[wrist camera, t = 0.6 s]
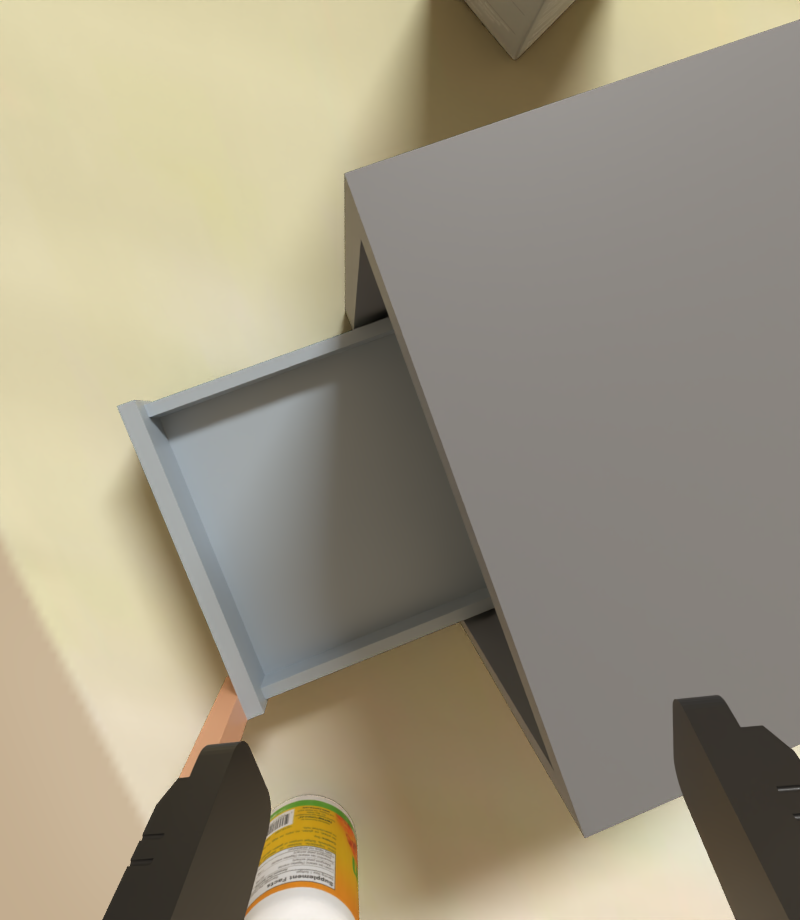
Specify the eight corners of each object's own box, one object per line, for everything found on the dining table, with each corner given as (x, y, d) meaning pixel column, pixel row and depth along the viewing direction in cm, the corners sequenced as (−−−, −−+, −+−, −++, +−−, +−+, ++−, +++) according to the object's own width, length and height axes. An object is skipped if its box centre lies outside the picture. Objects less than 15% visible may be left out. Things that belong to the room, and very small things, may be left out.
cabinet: (344, 309, 29) (344, 173, 13) (624, 210, 30) (934, -26, 14) (461, 624, 31) (584, 838, 15) (722, 519, 32) (1096, 614, 16)
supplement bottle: (347, 890, 31) (348, 1098, 22) (249, 880, 31) (205, 1090, 21) (364, 797, 31) (373, 966, 21) (266, 785, 30) (229, 954, 21)
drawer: (119, 416, 27) (-36, 411, 16) (432, 304, 28) (488, 227, 17) (235, 696, 29) (167, 867, 18) (530, 578, 30) (639, 670, 19)
